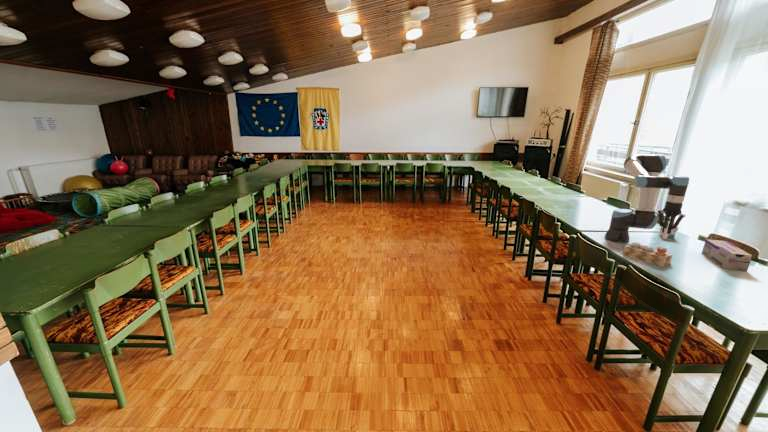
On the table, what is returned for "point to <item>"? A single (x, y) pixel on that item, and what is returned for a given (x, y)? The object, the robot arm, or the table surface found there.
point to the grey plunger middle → (648, 248)
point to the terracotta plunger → (661, 251)
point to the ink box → (670, 233)
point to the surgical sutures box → (726, 255)
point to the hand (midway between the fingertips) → (664, 238)
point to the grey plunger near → (636, 245)
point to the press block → (647, 255)
